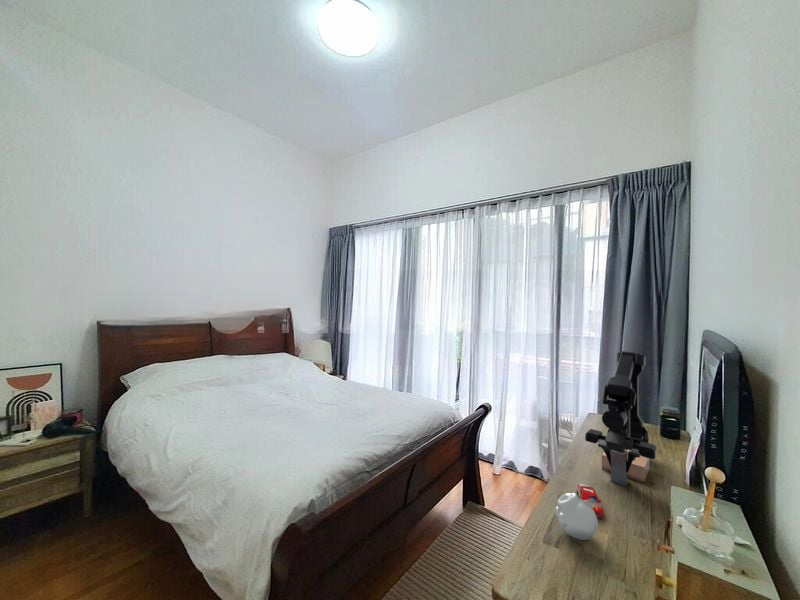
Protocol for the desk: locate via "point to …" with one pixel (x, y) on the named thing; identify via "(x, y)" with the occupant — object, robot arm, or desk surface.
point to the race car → (590, 499)
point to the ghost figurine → (576, 516)
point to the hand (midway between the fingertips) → (619, 469)
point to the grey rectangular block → (619, 467)
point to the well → (631, 467)
